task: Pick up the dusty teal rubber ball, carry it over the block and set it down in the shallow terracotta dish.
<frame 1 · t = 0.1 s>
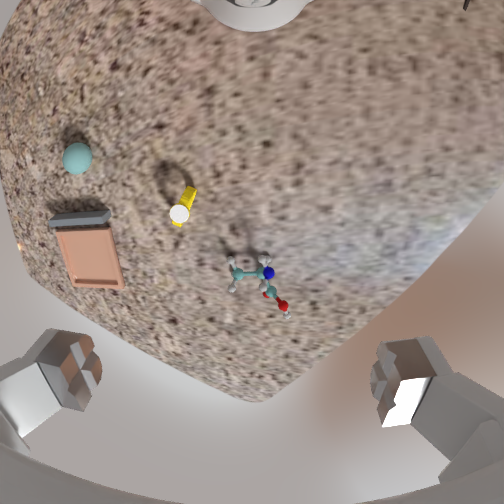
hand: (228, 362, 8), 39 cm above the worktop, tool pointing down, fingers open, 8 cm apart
molecular model: (261, 267, 52), on the worktop
block: (82, 215, 48), on the worktop
dish: (91, 257, 53), on the worktop
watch: (188, 199, 47), on the worktop
ball: (85, 154, 43), on the worktop
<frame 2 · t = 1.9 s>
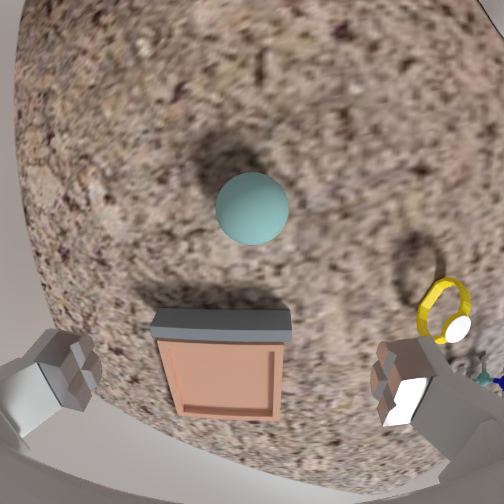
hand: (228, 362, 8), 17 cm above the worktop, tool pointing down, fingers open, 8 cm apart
molecular model: (471, 368, 31), on the worktop
block: (223, 315, 28), on the worktop
dish: (224, 379, 31), on the worktop
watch: (430, 294, 27), on the worktop
ball: (253, 199, 24), on the worktop
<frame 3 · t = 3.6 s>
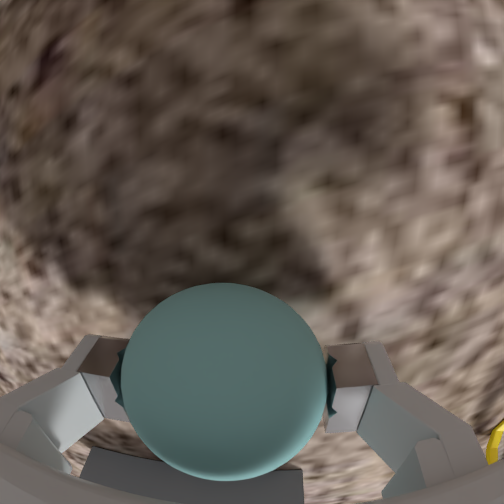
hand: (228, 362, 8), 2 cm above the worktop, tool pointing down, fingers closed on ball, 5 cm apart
block: (190, 470, 14), on the worktop
ball: (232, 325, 9), on the worktop, touching gripper
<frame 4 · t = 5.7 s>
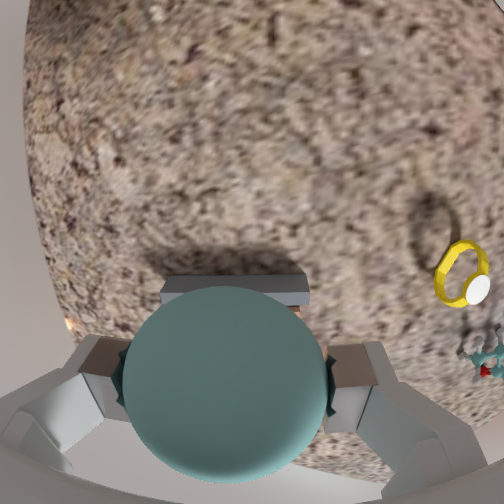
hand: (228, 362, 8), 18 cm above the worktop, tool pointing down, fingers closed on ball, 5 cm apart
molecular model: (487, 342, 30), on the worktop
block: (236, 281, 27), on the worktop
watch: (446, 259, 26), on the worktop
ball: (233, 327, 9), point 16 cm above the worktop, touching gripper
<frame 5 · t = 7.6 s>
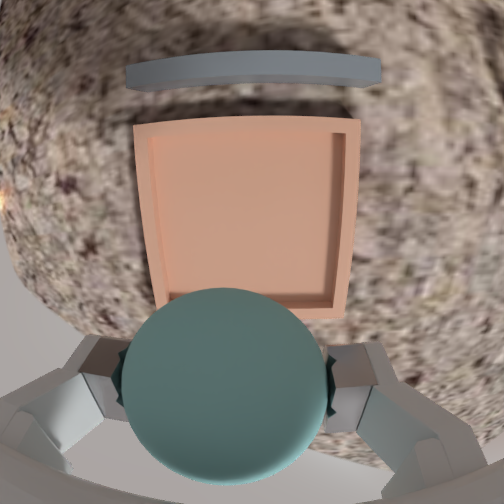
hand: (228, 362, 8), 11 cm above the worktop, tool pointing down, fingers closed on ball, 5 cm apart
block: (253, 72, 15), on the worktop
dish: (248, 221, 18), on the worktop
ball: (233, 329, 9), point 10 cm above the worktop, touching gripper
when the fingers open (3 cm above the worktop, at t = 9.2 s): ball stays where it is, resting on dish.
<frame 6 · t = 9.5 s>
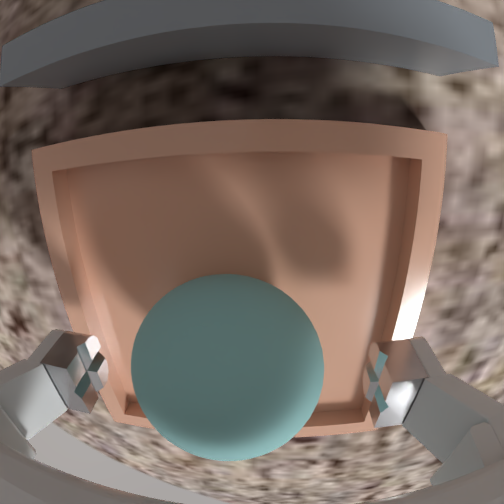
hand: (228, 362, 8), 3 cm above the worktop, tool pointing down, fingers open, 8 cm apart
block: (243, 38, 7), on the worktop
dish: (235, 309, 10), on the worktop
ball: (235, 315, 10), resting on dish
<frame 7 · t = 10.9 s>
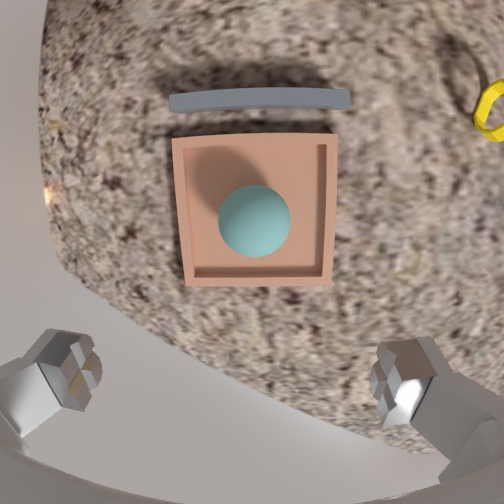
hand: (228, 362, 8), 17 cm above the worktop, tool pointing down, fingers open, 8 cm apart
block: (260, 100, 21), on the worktop
dish: (256, 210, 24), on the worktop
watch: (481, 108, 20), on the worktop
ball: (256, 211, 24), resting on dish
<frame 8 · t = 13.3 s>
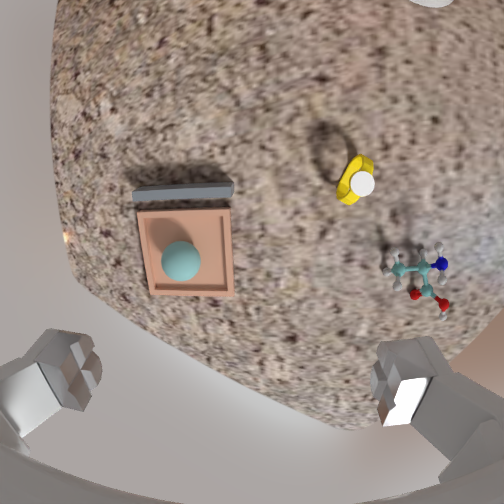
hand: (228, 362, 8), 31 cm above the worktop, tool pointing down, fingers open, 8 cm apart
molecular model: (413, 263, 40), on the worktop
block: (185, 188, 38), on the worktop
dish: (187, 252, 41), on the worktop
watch: (348, 175, 36), on the worktop
ball: (187, 253, 41), resting on dish, tilted 5°
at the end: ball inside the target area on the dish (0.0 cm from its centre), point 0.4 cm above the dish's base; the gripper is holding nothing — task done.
